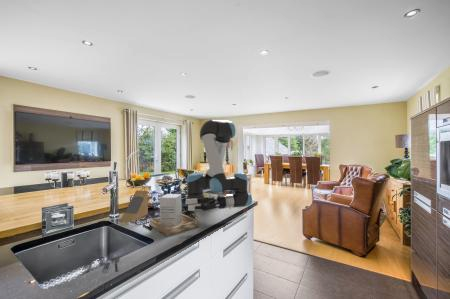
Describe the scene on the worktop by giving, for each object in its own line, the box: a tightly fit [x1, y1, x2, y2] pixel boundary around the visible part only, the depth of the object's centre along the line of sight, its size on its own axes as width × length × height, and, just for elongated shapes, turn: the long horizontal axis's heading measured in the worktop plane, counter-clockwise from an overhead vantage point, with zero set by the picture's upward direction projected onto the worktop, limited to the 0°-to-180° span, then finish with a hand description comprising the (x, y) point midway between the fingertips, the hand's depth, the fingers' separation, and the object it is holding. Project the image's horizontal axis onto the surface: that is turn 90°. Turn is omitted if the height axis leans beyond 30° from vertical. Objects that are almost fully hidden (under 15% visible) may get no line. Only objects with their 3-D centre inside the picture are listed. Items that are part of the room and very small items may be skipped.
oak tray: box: [149, 213, 200, 237], centre depth 111 cm, size 18×20×3 cm
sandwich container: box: [120, 189, 149, 223], centre depth 126 cm, size 9×15×15 cm, turn 167°
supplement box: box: [159, 193, 183, 227], centre depth 111 cm, size 9×9×15 cm
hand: (186, 204), depth 113 cm, fingers open, 13 cm apart
